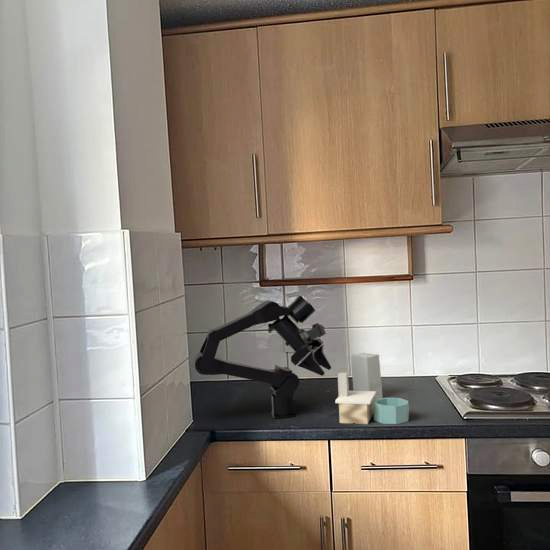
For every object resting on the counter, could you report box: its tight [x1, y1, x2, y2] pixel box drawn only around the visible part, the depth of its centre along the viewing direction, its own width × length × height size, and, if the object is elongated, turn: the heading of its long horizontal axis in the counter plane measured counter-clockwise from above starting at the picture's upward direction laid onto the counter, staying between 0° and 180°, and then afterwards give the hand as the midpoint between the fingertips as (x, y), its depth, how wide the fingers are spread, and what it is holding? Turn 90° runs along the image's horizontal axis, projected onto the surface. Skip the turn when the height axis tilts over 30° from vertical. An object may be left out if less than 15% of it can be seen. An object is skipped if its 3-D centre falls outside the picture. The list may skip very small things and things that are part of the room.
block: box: [338, 401, 374, 425], centre depth 174 cm, size 8×12×6 cm, turn 162°
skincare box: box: [350, 352, 384, 402], centre depth 195 cm, size 8×6×15 cm
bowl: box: [373, 397, 410, 425], centre depth 171 cm, size 10×10×5 cm
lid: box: [334, 372, 376, 404], centre depth 174 cm, size 10×12×7 cm
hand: (327, 371), depth 176 cm, fingers open, 9 cm apart
